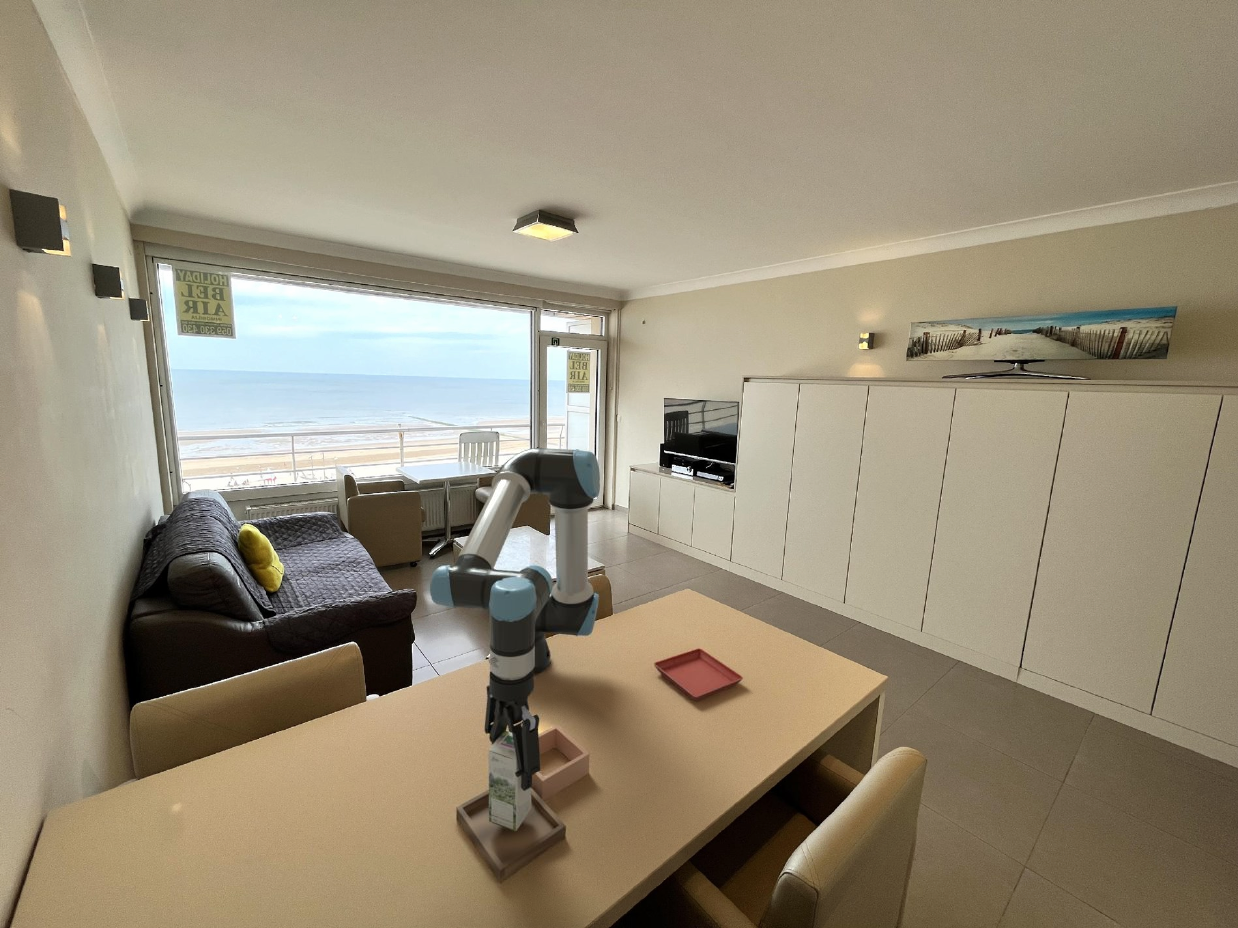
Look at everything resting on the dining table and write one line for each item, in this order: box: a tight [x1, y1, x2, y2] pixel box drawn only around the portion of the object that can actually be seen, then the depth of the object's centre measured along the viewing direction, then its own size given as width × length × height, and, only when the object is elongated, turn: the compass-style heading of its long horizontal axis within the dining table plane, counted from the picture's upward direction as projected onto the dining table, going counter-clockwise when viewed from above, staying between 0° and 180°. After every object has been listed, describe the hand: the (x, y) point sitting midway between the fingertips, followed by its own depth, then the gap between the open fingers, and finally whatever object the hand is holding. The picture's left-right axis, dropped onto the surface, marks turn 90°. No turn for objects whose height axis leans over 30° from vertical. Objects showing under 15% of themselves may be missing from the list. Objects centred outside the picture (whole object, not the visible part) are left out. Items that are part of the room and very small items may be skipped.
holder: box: [531, 724, 591, 802], centre depth 105 cm, size 12×12×4 cm
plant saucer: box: [653, 647, 744, 702], centre depth 141 cm, size 18×18×3 cm
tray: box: [455, 788, 567, 884], centre depth 91 cm, size 16×13×2 cm
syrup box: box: [488, 730, 531, 831], centre depth 90 cm, size 6×6×14 cm
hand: (510, 787), depth 90 cm, fingers closed on syrup box, 8 cm apart
